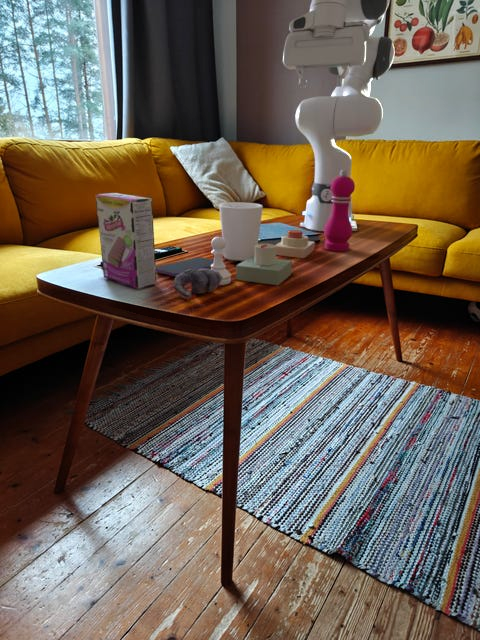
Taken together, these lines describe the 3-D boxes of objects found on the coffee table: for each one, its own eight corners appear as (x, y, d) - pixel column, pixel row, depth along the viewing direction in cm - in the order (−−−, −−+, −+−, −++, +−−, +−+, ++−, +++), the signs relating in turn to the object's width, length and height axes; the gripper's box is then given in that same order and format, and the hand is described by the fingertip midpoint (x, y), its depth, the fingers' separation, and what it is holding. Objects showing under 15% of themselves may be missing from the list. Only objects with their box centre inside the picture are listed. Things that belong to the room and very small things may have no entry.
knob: (258, 259, 95) (259, 241, 93) (278, 261, 93) (279, 243, 92) (251, 263, 91) (251, 245, 90) (271, 266, 89) (272, 247, 88)
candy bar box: (101, 278, 90) (93, 194, 84) (122, 273, 94) (116, 192, 88) (137, 290, 83) (130, 199, 77) (158, 284, 87) (153, 197, 81)
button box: (285, 246, 120) (285, 232, 119) (314, 250, 117) (315, 234, 116) (272, 254, 112) (273, 238, 110) (303, 258, 109) (305, 241, 107)
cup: (227, 267, 100) (228, 208, 95) (213, 257, 108) (213, 203, 104) (268, 263, 103) (270, 207, 99) (251, 254, 112) (252, 201, 107)
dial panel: (252, 269, 99) (252, 255, 98) (291, 274, 95) (292, 259, 94) (235, 279, 91) (236, 264, 90) (278, 285, 88) (278, 270, 87)
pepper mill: (348, 246, 122) (357, 169, 115) (352, 252, 115) (361, 170, 108) (321, 245, 123) (328, 168, 115) (323, 251, 116) (330, 170, 109)
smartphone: (223, 261, 101) (176, 273, 90) (223, 266, 102) (176, 279, 90) (199, 256, 105) (151, 267, 94) (199, 261, 106) (151, 272, 94)
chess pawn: (207, 286, 87) (207, 239, 83) (204, 278, 91) (203, 234, 88) (233, 285, 88) (233, 239, 84) (228, 277, 92) (228, 234, 89)
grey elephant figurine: (179, 306, 79) (220, 295, 86) (191, 287, 76) (233, 278, 82) (164, 283, 81) (205, 274, 88) (175, 264, 77) (217, 256, 84)
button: (290, 236, 115) (290, 229, 115) (303, 237, 114) (304, 230, 114) (285, 238, 112) (286, 231, 112) (299, 240, 111) (300, 233, 110)
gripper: (372, 24, 108) (364, 88, 111) (291, 31, 115) (286, 90, 119) (368, 15, 102) (360, 82, 106) (283, 22, 110) (278, 85, 114)
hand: (320, 86), depth 113 cm, fingers open, 8 cm apart
